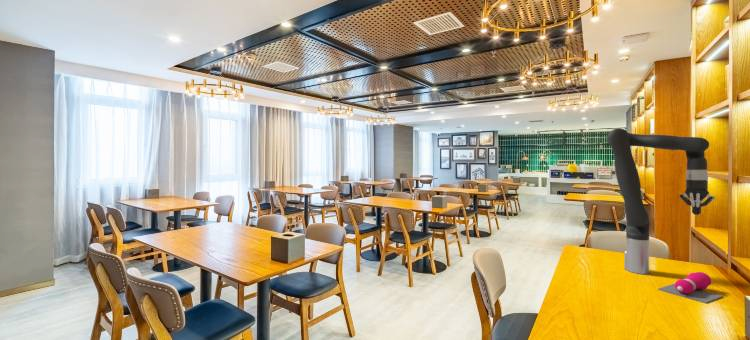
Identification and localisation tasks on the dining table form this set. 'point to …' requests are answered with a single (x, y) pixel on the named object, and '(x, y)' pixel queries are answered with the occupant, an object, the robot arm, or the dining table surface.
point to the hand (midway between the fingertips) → (696, 214)
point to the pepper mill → (693, 283)
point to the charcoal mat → (692, 294)
